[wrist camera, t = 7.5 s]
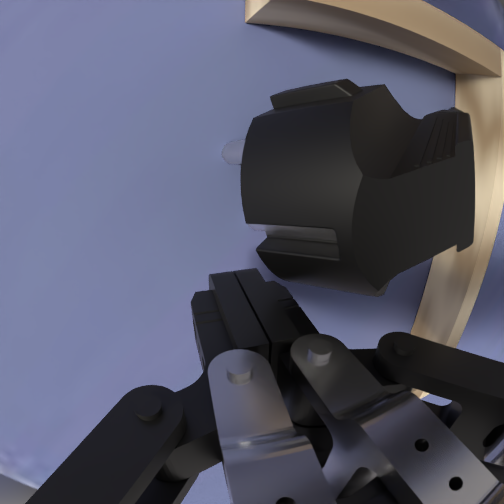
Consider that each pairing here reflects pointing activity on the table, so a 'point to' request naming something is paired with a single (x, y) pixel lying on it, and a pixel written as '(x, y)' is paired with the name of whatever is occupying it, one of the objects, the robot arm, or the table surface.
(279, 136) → the power plug
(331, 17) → the bracket
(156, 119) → the table surface
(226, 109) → the table surface
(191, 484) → the robot arm
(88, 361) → the table surface
